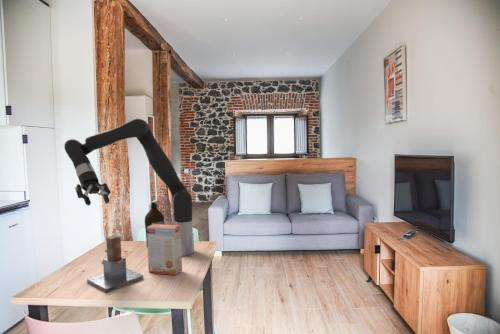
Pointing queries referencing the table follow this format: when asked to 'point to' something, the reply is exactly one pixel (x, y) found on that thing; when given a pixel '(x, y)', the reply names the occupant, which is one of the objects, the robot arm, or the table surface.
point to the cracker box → (164, 249)
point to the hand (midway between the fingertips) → (98, 203)
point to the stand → (114, 276)
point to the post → (113, 247)
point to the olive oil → (153, 217)
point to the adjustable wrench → (106, 255)
